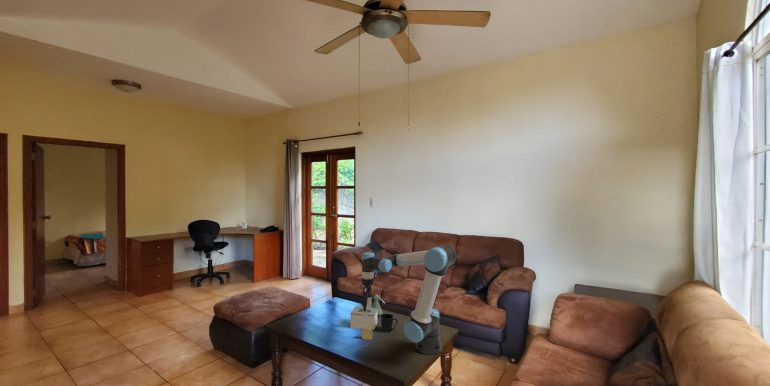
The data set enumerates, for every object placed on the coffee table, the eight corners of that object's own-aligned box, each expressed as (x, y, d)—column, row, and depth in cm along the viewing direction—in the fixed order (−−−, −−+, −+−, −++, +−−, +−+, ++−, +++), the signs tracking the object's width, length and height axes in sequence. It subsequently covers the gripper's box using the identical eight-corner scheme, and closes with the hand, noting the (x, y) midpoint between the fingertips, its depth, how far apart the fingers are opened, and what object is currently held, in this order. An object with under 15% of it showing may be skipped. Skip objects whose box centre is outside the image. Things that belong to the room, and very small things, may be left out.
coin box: (377, 322, 224) (377, 308, 224) (373, 330, 212) (374, 315, 212) (354, 320, 227) (355, 306, 226) (350, 328, 215) (350, 313, 215)
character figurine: (362, 315, 236) (363, 291, 236) (367, 311, 244) (368, 288, 243) (382, 319, 229) (382, 294, 229) (386, 315, 237) (387, 291, 237)
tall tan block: (372, 337, 202) (372, 328, 202) (371, 339, 199) (371, 330, 199) (363, 336, 203) (363, 327, 203) (361, 338, 200) (362, 329, 200)
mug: (393, 335, 205) (394, 320, 205) (378, 331, 211) (378, 316, 211) (400, 331, 212) (400, 316, 212) (384, 326, 218) (385, 312, 218)
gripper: (365, 272, 212) (364, 304, 213) (357, 283, 188) (356, 319, 188) (376, 272, 211) (376, 305, 212) (370, 283, 187) (369, 320, 187)
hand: (366, 311), depth 200 cm, fingers open, 13 cm apart
